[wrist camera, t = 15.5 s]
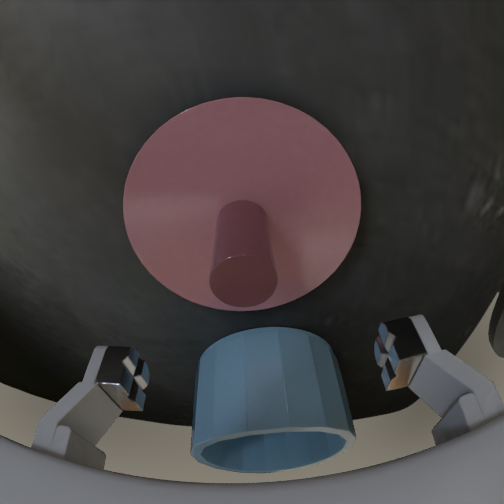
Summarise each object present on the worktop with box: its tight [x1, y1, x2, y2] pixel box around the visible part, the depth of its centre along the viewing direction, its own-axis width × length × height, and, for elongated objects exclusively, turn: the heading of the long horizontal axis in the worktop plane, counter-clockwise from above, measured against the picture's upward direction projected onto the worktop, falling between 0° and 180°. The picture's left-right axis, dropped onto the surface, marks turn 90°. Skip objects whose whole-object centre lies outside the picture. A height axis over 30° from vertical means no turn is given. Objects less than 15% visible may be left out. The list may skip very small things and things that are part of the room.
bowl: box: [191, 327, 356, 473], centre depth 23 cm, size 13×13×8 cm
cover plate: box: [123, 96, 361, 311], centre depth 15 cm, size 13×13×6 cm
